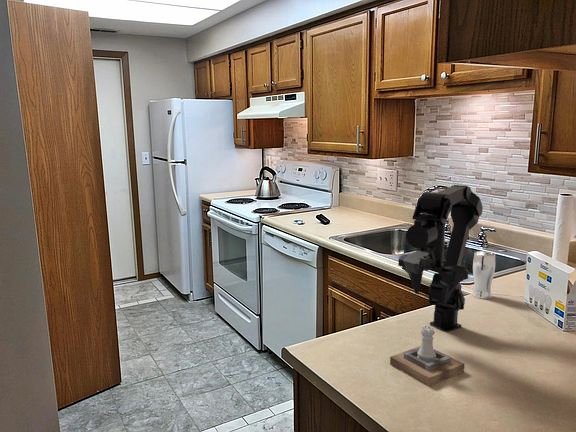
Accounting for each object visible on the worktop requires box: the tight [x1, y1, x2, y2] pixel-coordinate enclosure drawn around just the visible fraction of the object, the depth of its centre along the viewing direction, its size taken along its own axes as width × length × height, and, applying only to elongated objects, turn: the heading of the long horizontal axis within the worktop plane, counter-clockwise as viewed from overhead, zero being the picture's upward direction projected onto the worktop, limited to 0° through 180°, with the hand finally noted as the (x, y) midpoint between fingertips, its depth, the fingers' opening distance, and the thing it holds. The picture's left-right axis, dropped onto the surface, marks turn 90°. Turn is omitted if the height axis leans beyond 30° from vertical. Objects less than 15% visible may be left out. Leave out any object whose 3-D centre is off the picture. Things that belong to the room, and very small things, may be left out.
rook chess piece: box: [417, 325, 436, 363], centre depth 111 cm, size 4×4×8 cm
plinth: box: [389, 345, 465, 387], centre depth 112 cm, size 12×12×3 cm
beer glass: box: [472, 250, 496, 300], centre depth 160 cm, size 7×7×15 cm
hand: (430, 298), depth 125 cm, fingers open, 9 cm apart
